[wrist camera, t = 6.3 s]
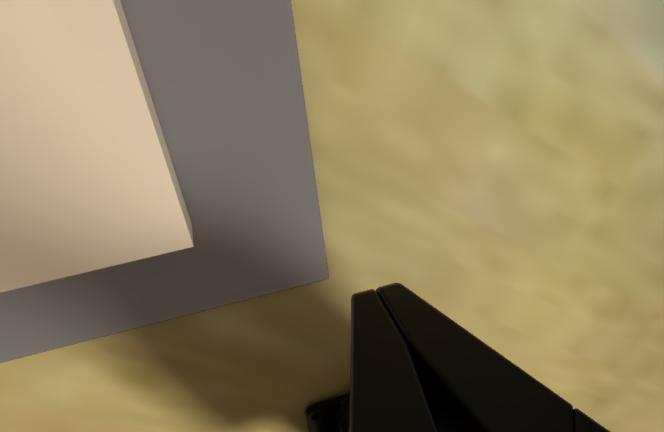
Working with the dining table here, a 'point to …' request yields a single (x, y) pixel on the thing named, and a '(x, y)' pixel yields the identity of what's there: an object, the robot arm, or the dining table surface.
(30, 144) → the tile
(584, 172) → the dining table surface
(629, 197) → the dining table surface
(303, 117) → the mat
